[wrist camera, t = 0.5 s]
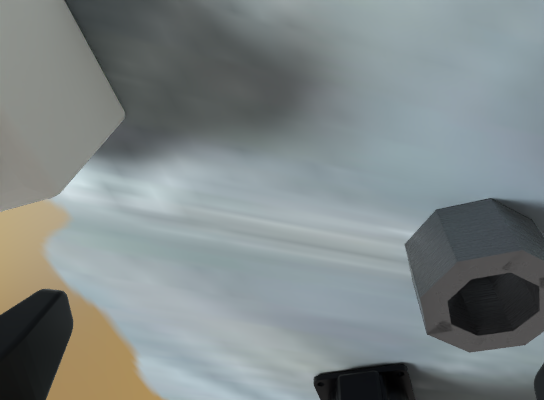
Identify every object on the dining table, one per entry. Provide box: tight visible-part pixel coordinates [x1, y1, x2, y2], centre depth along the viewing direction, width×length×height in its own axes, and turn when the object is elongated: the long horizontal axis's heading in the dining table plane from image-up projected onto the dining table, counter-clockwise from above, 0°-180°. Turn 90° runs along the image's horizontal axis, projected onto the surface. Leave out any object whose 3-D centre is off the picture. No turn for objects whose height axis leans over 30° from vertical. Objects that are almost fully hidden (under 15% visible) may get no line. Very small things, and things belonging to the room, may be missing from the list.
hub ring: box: [405, 199, 544, 352], centre depth 22 cm, size 6×6×4 cm
